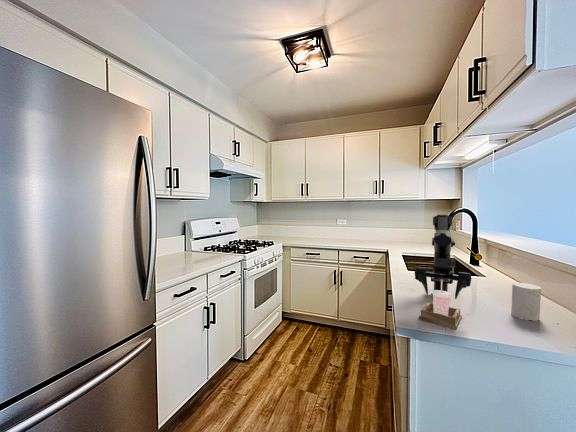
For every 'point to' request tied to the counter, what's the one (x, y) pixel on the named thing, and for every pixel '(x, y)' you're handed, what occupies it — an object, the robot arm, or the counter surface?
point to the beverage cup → (441, 301)
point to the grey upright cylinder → (526, 301)
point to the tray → (441, 316)
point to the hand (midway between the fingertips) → (441, 296)
